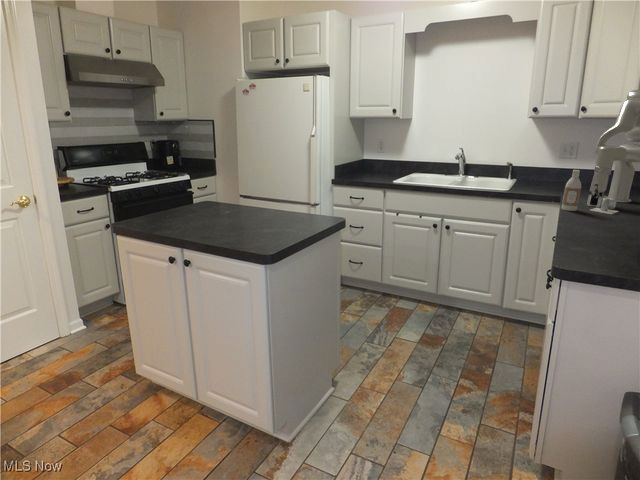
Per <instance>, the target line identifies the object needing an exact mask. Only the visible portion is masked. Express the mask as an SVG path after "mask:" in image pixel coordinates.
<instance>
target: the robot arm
mask: <svg viewBox="0 0 640 480" xmlns="http://www.w3.org/2000/svg"><path fill="white" fill-rule="evenodd" d="M622 134H624V140H626V141H627V142H632V143H624V144H621V145H619V146H618V145H608V144H607V143H608V141H609V140H611V139H612V138H615V137H616V136H619V135H622ZM635 143H637V144H635ZM638 143H640V89H633V90H631V91H629V92H628V93H627V96H626V99H625V100H624V101H623V102H622V105H621V107H620V109H619V112H618V114H617V117H616V120H615V123H614V125H613V126H611V127H610V128H609V129H608V130H606V131H605V132H604V133H603V134H602V135H601V136H600V137H599V139H598V141H597V142H596V145H595V149H594V150H593V151H594V152H593V156H594V158H595V159H596V161H595V166H594V170H593V171H594V172H593V177H592V181H591V184H590V188H589V192H590V193H591V194H592V195H591V194H590V195H591V200H590V205H594V206H596V205H597V201H598V195H604V193H605V192H606V190H607V187H608V183H609V178H610V177H609V176H610V175H611V174H613V175H612V179H611V183H610V189H609V193H608V196H607V195H606V198H608V199H610V200H613V201H617V202H616V203H632V199H630V198H629V197H630V193H631V188H632V185H633V180H634V176H635V171H636V170H635V166H634V164H633V163H637V164H640V144H638ZM614 161H615V165H614ZM613 165H614V169H613ZM612 169H613V173H612ZM596 194H597V195H596ZM604 196H605V195H604ZM594 206H593V207H594Z"/></svg>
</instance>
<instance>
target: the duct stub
mask: <svg viewBox="0 0 640 480" xmlns="http://www.w3.org/2000/svg"><path fill="white" fill-rule="evenodd" d="M609 202H610V199H608V198H603V201H602V206H601V207H594V208H591V209H589V212H595V213H601V214H607V215H613V214H616V213H619V212H620V211H619V210H615V209H609V208H608V207H609Z"/></svg>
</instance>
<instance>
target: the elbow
mask: <svg viewBox="0 0 640 480" xmlns="http://www.w3.org/2000/svg"><path fill="white" fill-rule="evenodd" d="M591 195H592V193H591V194H588V198H587V202H586V206H587V207H588V206H590V207H594V208H601V206H602V201H603V198H606V197H607V195H598V201H597V205H596V206H594V205H590V200H591ZM596 195H597V194H596ZM617 203H618V202H617V201H613V200H610V202H609V207H608V209H609V210H615V209H616V205H617Z"/></svg>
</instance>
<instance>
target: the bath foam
mask: <svg viewBox="0 0 640 480" xmlns="http://www.w3.org/2000/svg"><path fill="white" fill-rule="evenodd" d="M580 172H581V171H580V170H579V169H573V170H572V174H571V177H570V178H569V179H568V181H567V182H566V184H565V186H564V192H563V199H562V204H561V210H563V211H567V212H568V211H569V212H576V211H577V210H578V206H579V200H580V195H581V190H582V182H581V180H580Z"/></svg>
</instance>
